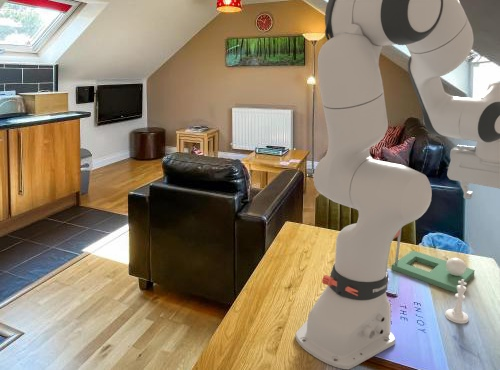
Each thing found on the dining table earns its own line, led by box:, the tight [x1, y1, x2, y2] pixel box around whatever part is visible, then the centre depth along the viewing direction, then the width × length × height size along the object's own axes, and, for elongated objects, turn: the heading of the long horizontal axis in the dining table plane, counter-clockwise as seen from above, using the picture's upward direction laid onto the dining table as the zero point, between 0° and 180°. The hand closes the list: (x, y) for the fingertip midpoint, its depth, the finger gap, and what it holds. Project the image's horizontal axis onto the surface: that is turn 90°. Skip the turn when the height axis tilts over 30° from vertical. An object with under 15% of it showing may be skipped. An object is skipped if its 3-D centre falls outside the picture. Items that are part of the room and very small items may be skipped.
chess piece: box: [445, 279, 469, 324], centre depth 89 cm, size 5×5×10 cm
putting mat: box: [391, 227, 476, 294], centre depth 109 cm, size 17×18×14 cm
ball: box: [446, 257, 467, 276], centre depth 107 cm, size 5×5×5 cm
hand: (487, 202), depth 98 cm, fingers open, 8 cm apart
